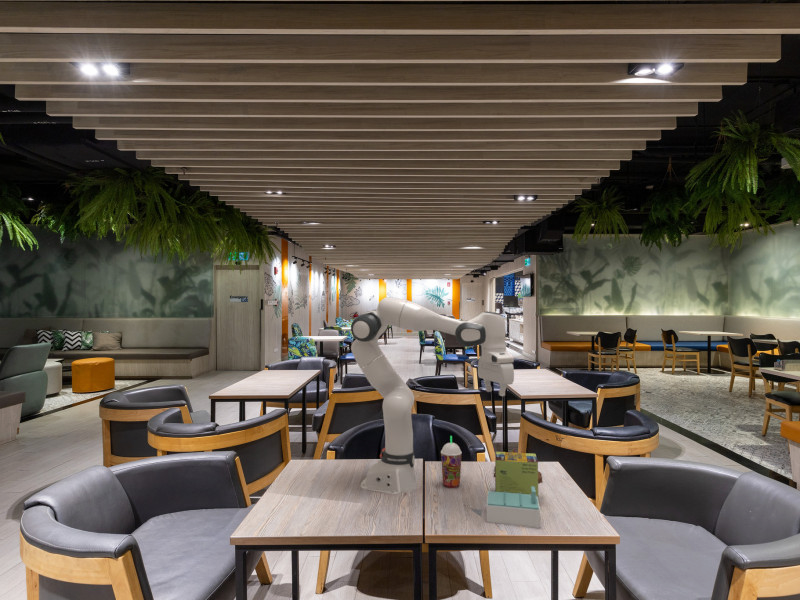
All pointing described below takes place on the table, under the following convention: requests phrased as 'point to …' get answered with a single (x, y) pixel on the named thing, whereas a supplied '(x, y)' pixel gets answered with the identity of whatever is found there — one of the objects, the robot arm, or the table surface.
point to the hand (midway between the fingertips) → (495, 393)
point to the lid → (513, 499)
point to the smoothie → (451, 464)
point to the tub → (513, 516)
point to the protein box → (516, 472)
